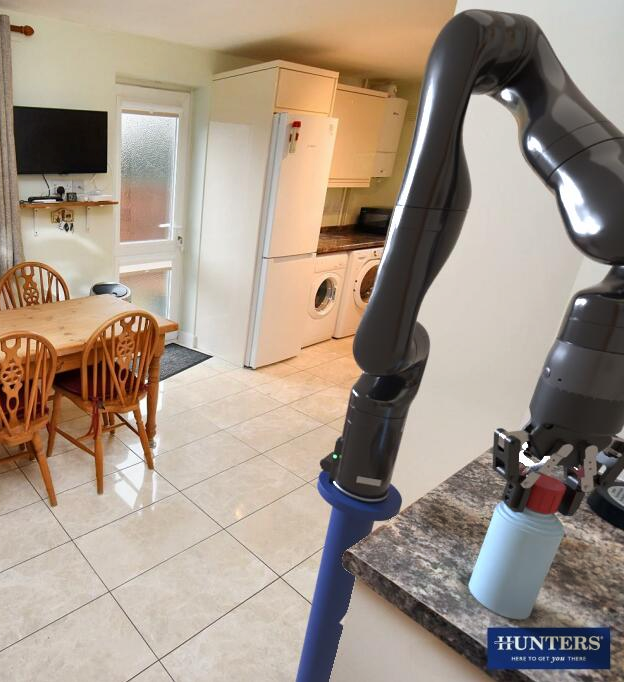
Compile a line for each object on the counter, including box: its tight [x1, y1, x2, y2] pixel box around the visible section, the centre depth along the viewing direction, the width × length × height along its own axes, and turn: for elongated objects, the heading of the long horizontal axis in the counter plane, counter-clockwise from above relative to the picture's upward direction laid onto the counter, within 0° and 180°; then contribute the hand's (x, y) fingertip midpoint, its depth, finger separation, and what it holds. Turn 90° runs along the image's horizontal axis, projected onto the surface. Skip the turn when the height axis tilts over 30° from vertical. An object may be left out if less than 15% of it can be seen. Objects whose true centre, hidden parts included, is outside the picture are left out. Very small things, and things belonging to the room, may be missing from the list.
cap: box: [522, 470, 566, 514], centre depth 54 cm, size 4×4×3 cm
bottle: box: [468, 500, 565, 620], centre depth 57 cm, size 6×6×18 cm
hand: (537, 509), depth 54 cm, fingers open, 5 cm apart
